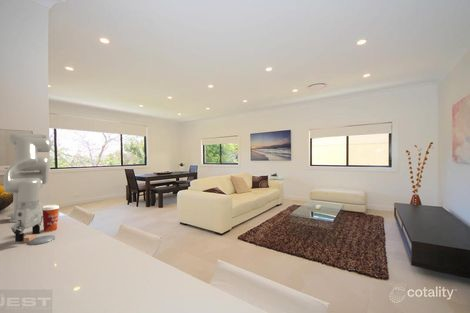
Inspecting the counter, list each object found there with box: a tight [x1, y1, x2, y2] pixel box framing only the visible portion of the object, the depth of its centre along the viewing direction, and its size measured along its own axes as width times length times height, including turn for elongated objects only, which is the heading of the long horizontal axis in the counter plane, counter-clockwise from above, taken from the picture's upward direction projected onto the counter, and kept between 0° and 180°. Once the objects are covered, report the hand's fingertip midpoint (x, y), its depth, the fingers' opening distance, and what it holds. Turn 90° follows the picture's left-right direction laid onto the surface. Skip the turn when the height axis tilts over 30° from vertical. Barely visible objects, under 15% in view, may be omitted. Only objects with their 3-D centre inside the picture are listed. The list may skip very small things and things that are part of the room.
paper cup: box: [41, 204, 60, 233], centre depth 120 cm, size 8×8×14 cm
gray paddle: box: [19, 234, 56, 246], centre depth 106 cm, size 14×10×2 cm
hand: (28, 237), depth 105 cm, fingers open, 9 cm apart
